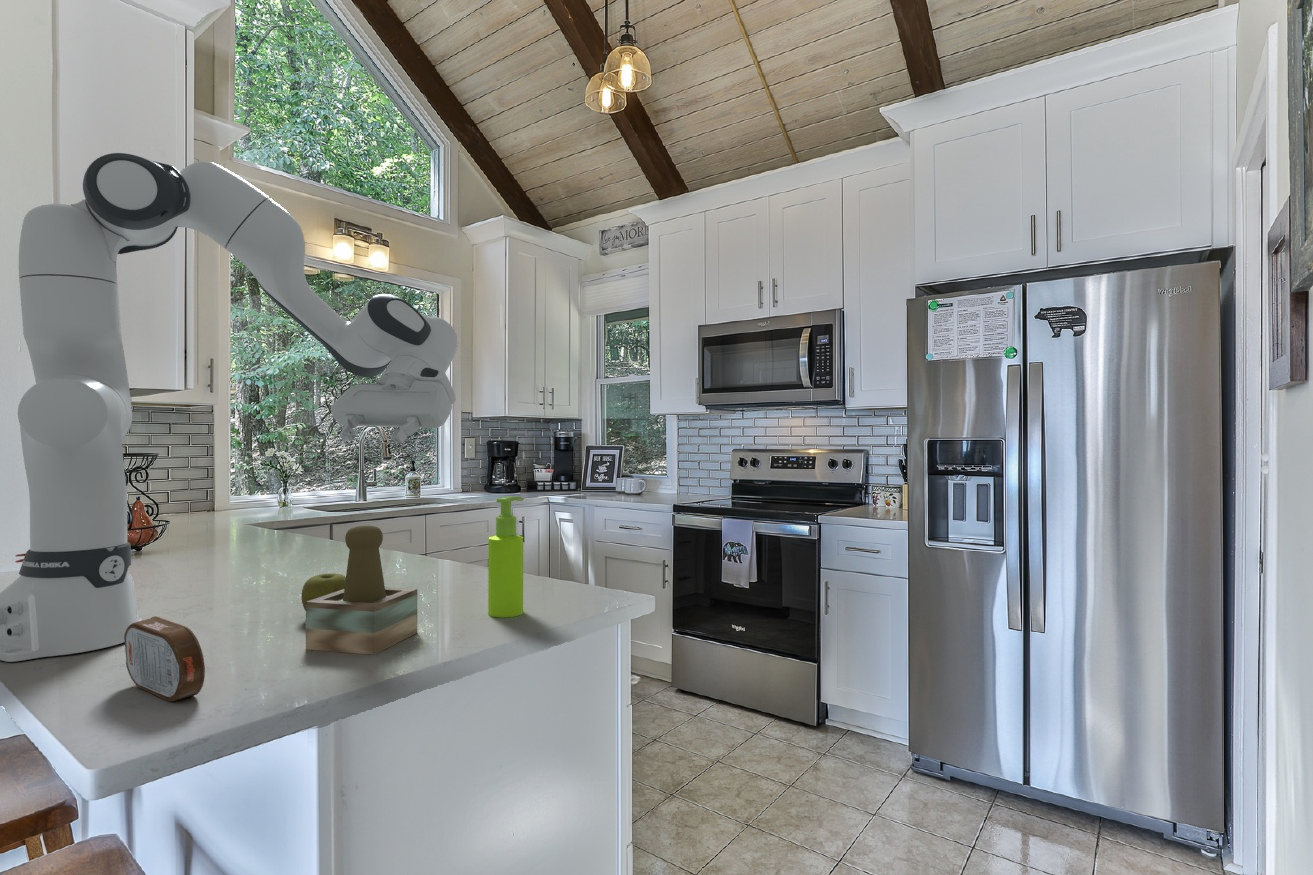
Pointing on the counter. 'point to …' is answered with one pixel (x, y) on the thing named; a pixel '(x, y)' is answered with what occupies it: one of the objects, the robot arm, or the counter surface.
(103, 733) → the counter surface
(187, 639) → the tin
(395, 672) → the counter surface
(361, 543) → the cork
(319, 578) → the apple
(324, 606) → the brown wooden square box
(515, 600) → the soap dispenser
